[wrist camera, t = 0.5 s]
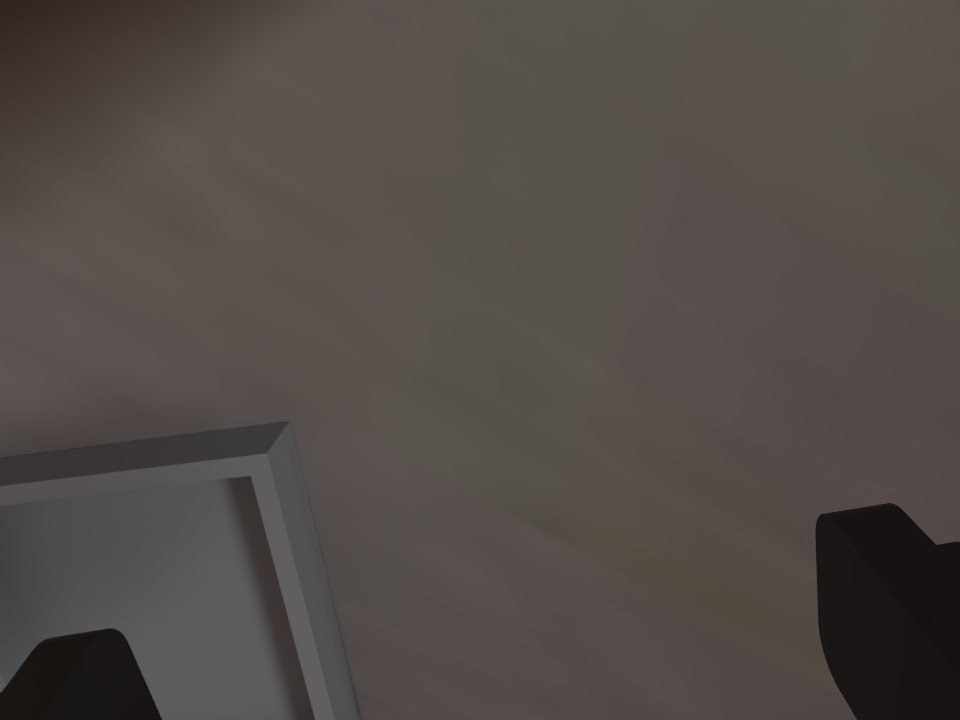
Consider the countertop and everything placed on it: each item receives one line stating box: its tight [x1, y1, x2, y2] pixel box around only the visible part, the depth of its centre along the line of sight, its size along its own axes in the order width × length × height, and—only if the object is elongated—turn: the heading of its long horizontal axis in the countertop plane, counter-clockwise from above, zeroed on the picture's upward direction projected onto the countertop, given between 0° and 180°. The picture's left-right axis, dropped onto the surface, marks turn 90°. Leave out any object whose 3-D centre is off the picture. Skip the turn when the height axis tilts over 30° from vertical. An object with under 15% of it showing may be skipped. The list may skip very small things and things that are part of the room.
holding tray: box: [0, 422, 361, 720], centre depth 32 cm, size 16×14×3 cm
